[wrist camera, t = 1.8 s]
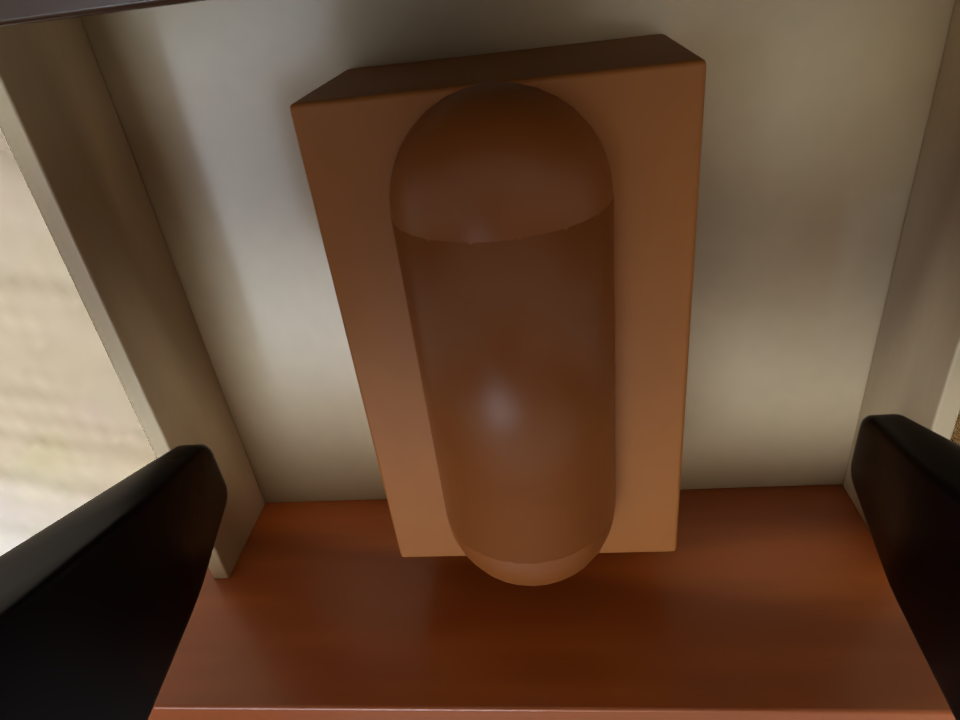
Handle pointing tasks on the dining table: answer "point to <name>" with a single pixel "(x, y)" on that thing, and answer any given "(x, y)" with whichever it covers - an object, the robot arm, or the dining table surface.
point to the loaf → (517, 291)
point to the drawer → (338, 403)
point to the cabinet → (69, 9)
